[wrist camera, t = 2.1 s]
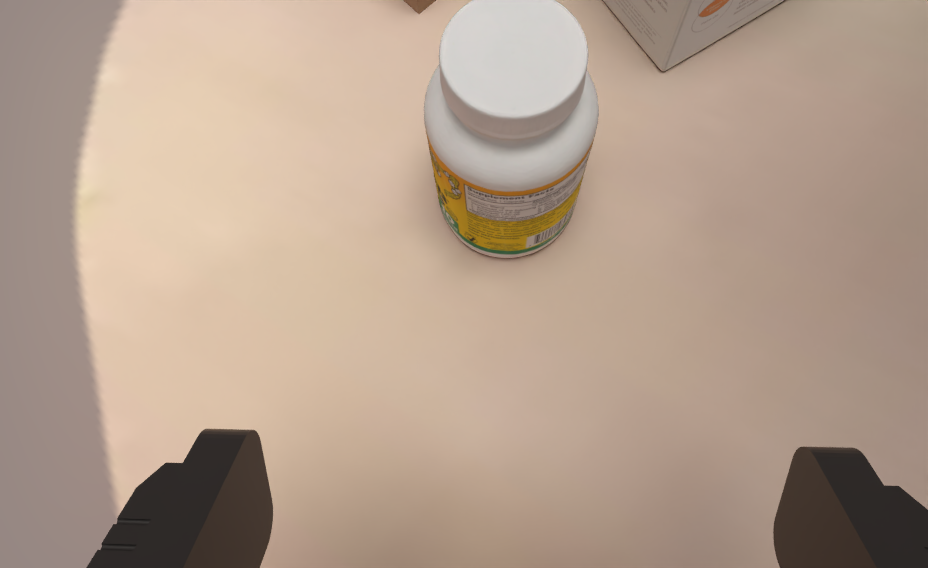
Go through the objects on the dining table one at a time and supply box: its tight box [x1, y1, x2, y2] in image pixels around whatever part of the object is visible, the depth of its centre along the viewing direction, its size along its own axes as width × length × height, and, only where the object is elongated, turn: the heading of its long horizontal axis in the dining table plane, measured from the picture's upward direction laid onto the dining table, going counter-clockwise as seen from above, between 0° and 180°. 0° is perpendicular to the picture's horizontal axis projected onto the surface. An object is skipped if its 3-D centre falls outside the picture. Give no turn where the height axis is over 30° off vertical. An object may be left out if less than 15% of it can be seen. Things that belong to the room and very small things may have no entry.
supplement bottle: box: [424, 0, 599, 258], centre depth 23 cm, size 5×5×10 cm
